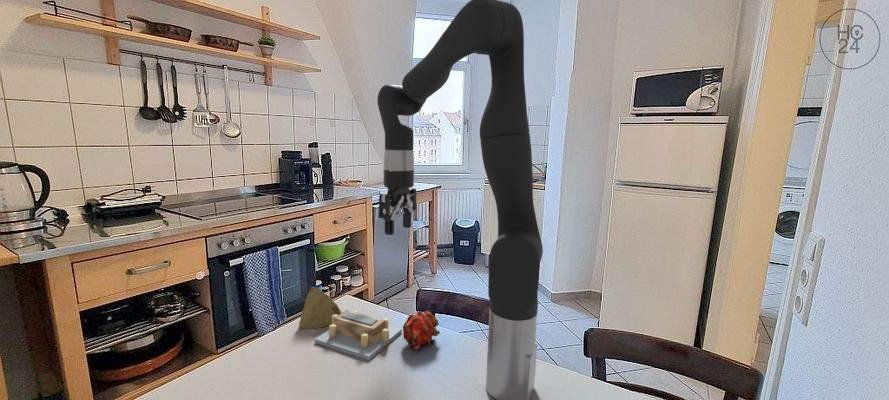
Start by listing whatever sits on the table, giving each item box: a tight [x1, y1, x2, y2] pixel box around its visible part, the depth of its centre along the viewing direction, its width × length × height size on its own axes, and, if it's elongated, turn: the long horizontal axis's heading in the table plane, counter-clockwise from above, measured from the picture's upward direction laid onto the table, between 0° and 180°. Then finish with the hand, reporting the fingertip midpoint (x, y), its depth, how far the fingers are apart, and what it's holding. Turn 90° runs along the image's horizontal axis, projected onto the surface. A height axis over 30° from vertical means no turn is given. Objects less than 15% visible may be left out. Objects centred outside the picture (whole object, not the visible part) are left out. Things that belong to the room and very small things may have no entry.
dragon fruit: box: [402, 310, 440, 351], centre depth 93 cm, size 8×8×12 cm
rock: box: [297, 286, 343, 330], centre depth 101 cm, size 11×9×10 cm
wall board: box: [314, 309, 403, 361], centre depth 96 cm, size 17×14×4 cm
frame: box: [334, 309, 385, 345], centre depth 95 cm, size 12×5×4 cm, turn 65°
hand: (398, 230), depth 98 cm, fingers open, 8 cm apart
